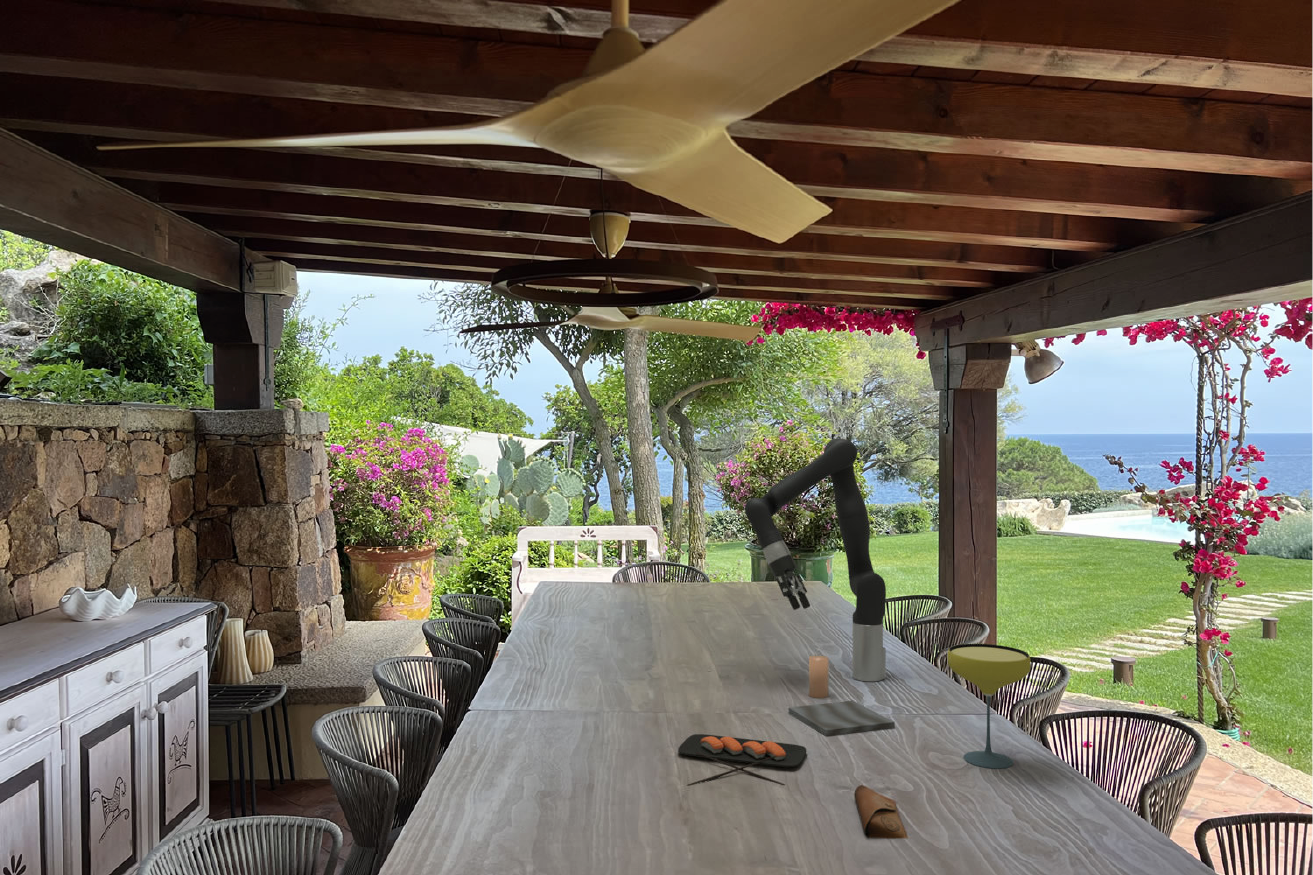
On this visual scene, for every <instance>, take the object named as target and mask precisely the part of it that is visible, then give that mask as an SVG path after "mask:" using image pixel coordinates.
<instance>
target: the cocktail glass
mask: <svg viewBox="0 0 1313 875" xmlns="http://www.w3.org/2000/svg"><path fill="white" fill-rule="evenodd" d="M946 656H947V663H948V667H949V668H950V669H951V670H952V671H953V672H954V673H955V674H956V675H957V676H959V677H960V678H963V679H964V680H965V681H968V682H970V683H972V684H973V685H975V686H976V687H978V689H980V691H981V693H982V694H983V695H984V696H986V741H985V742H986V743H985V744H986V745H985V750H975V751H969V752H966V753H964V755H963V759H964V760H965V762H967V763H969V764H970V765H973V766H976V767H980V768H985V769H996V770H997V769H999V770H1000V769H1001V770H1002V769H1007V768H1010V767H1012V766H1013V765H1014V760H1013V759H1012V758H1011V757H1009V756H1007V755H1005V754H1002V753H999V752H994V751H992V747H991V746H992V744H991V715H990V714H991V709H990V708H991V697H992V696H994V695H995V694H996V693H997V691H998V690H999V689H1002V688H1003V687H1006V686H1009V685H1011V684H1014V683H1017V682H1018V681H1021V680H1023V679H1024V678H1025V677H1026V676H1028V675H1029V674H1030V671H1031V666H1032V665H1031V663H1032V662H1031V655H1030V654H1029V653H1028V652H1026V651H1024V650H1022V649H1018V648H1016V647H1011V646H1006V645H1001V644H992V643H990V644H989V643H962V644H955V645H952V646H950V647H949V648H948V650H947V655H946Z"/></svg>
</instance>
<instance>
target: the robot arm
mask: <svg viewBox="0 0 1313 875" xmlns="http://www.w3.org/2000/svg"><path fill="white" fill-rule="evenodd" d="M857 458H858V449H857V446H856V445H855V444H854V442H852V441H851V440H848V439H846V438H832V439H831V440H830V441H828V442H827V443H826V445H825V446H824V450H823V453H822V454H820V456H819V457H818V458H816V459H814V460H813V461H812V462H811V463H809V464H808V465H806V466H804V467H802V468H800V469H797V471H794V472H792V473H791V474H789V475H788V476H786V477H784V478H783V479H781V480H779V481H778V482H777V483H775V484H774V485H772V486H771V487H770V488H769V490H768V492H767V493H766V494H764V495H763V496H761V497H760V498H759V497H752V498H751V499H749V500H747V502H745V506H744V513H745V515H746V517H747V519H748V522H749V524H750V526H751V527H752V529H753V530H754V532H755V535H756V538H757V540H758V543H759V545H760V548H761V550H762V552H763V554H764V555H763V556H764V558H765V560H766V563H767V565H768V567H769V569H770V571H771V574H772V576H773V577H774V578H776V582H777V585H778V586H779V589H780V591H781V593H782V595H783V597H784V598H785V597H786V599H787V600H788V601H789V603H790V605H791V607H792V610H794V611H796V610H798V609H800V608H801V606H802V608H803V609H805V610H806V609H807V608H810V607H811V604H810V601H809V599H808V598H807V593H808V589H807V588H806V586H805V584H804V582H803V580H802V578H801V576H800V575H799V574H796V575H795V573H794V571H796V570H797V564H796V562H795V560H794V558H793V556H792V554H791V551H790V550H789V548H788V546H787V544H786V543H785V540H784V538H783V536H782V535H781V533H780V531H779V529H778V527H777V525H776V524H775V522H774V519H773V516H774V515H775V514H776V513H778V511H780V510H781V509H782V508H783V507H785V506H786V505H788V504H790V503H791V502H792V501H794V500H795V499H796V498H798V497H800V496H801V495H802V494H804V493H805V492H806V491H808V490H809V489H811V488H812V487H813V486H815V485H817V484H818V483H820V482H821V481H822V480H824V479H826V478H828V477H829V476H830V479H831V483H832V487H833V488H832V489H833V495H834V496H833V498H834V504H835V510H836V516H837V522H838V526H839V531H840V535H841V539H842V544H843V548H844V551H845V552H844V553H845V556H846V561H847V562H846V563H847V571H848V573H847V574H848V582H849V587H850V590H851V592H852V594H853V595H854V596H855V597H856V598H855V599H856V600H855V601H856V603H855V605H856V606H855V610H854V612H853V613H852V678H853V679H854V680H857V681H860V682H861V681H862V682H863V681H864V682H879V681H882V680H886V678H887V677H886V676H887V675H886V671H887V670H886V669H887V668H886V667H887V666H886V660H887V659H886V658H887V657H886V656H887V655H886V652H887V650H886V647H884V616H885V613H886V603H887V602H886V601H887V600H886V599H887V597H886V596H887V588H886V587H887V586H886V582H885V580H884V578H883V577H882V575H880V574H878V573H876V572H875V571H874V568H873V564H872V561H871V556H870V540H871V538H870V537H871V526H870V520H869V516H868V515H869V514H868V510H867V507H866V504H865V501H864V498H863V496H862V493H861V491H860V489H859V486H858V483H857V480H856V475H855V468H854V463H855V461H857ZM797 597H798V598H797ZM798 599H799V601H798ZM799 602H800V603H799ZM800 604H801V605H800Z"/></svg>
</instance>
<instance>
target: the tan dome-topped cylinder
mask: <svg viewBox="0 0 1313 875" xmlns="http://www.w3.org/2000/svg"><path fill="white" fill-rule="evenodd" d="M808 696H809V697H810V696H811V697H810V698H813V697H814V698H813V699H826V698H825V697H827V698H828V697H829V657H828V656H825V655H820V654H819V655H810V656H809V657H808Z"/></svg>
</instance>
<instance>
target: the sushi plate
mask: <svg viewBox="0 0 1313 875" xmlns="http://www.w3.org/2000/svg"><path fill="white" fill-rule="evenodd" d="M677 752H678V754H681V755H684V756H692V757H699V758H707V759H710V760H712V761H715V762H717V763H720V764H722V765H725V766H728V767H731V768H733V770H732V769H731V770H729V771H728V770H727V771H725V772H723V773H722V772H721V773H719V774H715V775H713V776H709V777H705V778H703V779H701V780H697V781H694V782H691V783H688V784H686V786H693V785H697V783H698V784H701V783H700V782H702V783H706V782H705V781H707V782H709V781H708V780H710V781H713V780H715V779H719V778H721V777H724V776H727V775H729V774H731V773H735V772H739V771H741V772H742V773H746V774H748V775H751V776H753V777H756V778H758V779H762V780H763V781H764V780H765V781H768V782H772V783H775V784H778V785H780V786H786V784H784V783H782V782H781V781H777V780H775V779H773V778H772V779H771V778H770V777H766V776H763V775H761V774H758V773H755V772H752V771H751V770H747V769H746V768H749V767H753V766H754V765H763V766H771V767H778V768H779V767H780V768H796V767H798V766H800V764H801V763H802V762H803V760H804V758H805V756H806V753H807V748H806V747H805V746H803V745H799V744H793V743H785V742H776V741H770V740H768V741H767V740H758V739H750V738H741V737H740V738H739V737H733V736H722V735H715V734H704V733H702V734H701V733H696V734H695V733H694V734H691V735H690V736H689V737H687V738H686V739H685V740H684V741H683V742H682V743H681V744H680V745H679V747H678V749H677ZM725 761H730V762H731V761H732V762H739V763H747V764H746V765H743V766H741V767H739V766H735V765H734V764H733V765H732V764H730V763H728V762H725Z"/></svg>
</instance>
